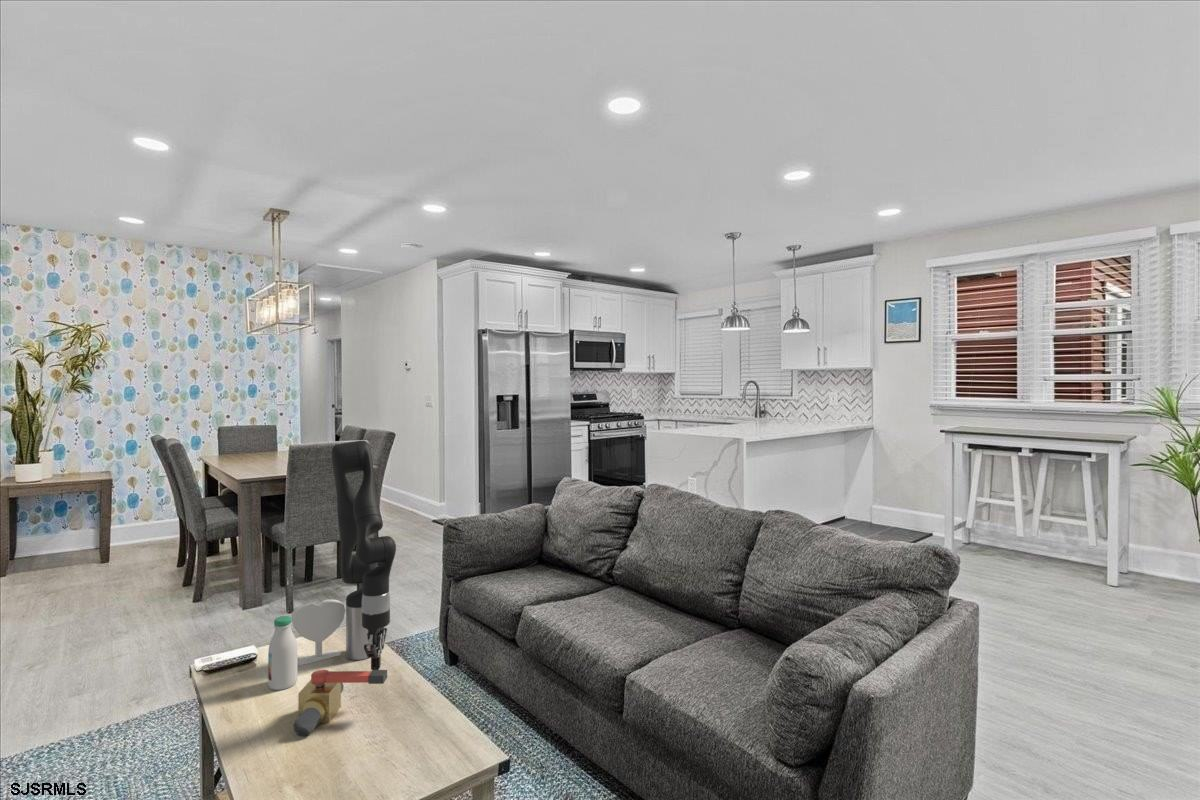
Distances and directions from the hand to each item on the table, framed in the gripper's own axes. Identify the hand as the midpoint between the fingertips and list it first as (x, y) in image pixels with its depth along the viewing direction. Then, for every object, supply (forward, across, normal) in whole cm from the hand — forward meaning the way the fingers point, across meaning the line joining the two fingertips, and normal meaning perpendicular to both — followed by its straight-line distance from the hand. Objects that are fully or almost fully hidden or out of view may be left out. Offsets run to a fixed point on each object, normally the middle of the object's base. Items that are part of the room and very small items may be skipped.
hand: (375, 668), depth 171 cm
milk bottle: (+10, -11, -31) cm, 34 cm away
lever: (+1, +6, -5) cm, 8 cm away
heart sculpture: (+10, -29, -28) cm, 42 cm away
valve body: (+10, +6, -13) cm, 17 cm away
